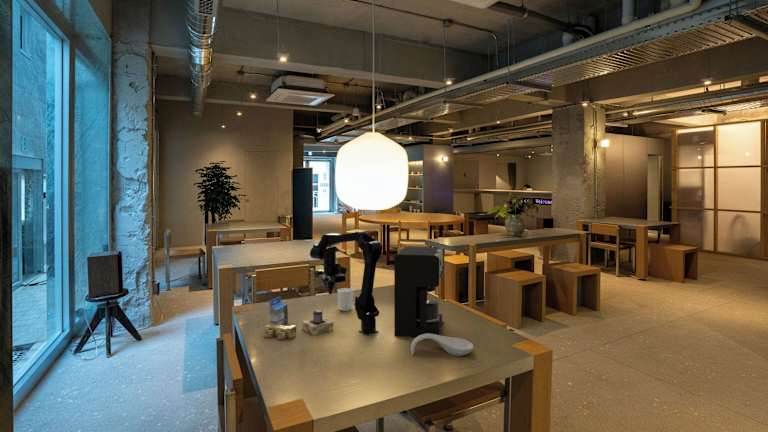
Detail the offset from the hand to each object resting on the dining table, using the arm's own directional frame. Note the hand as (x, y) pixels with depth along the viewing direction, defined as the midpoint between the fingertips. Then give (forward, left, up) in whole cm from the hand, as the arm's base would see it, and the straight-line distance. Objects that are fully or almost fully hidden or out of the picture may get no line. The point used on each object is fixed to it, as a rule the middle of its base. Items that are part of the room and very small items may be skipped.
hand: (330, 293), depth 186 cm
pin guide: (-2, +26, -13) cm, 29 cm away
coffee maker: (-34, -25, -13) cm, 44 cm away
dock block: (-6, +10, -13) cm, 17 cm away
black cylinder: (-6, +10, -13) cm, 17 cm away
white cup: (+12, -16, -13) cm, 24 cm away
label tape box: (+10, +21, -13) cm, 27 cm away
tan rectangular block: (-2, +26, -13) cm, 29 cm away
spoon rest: (-57, -15, -14) cm, 61 cm away
